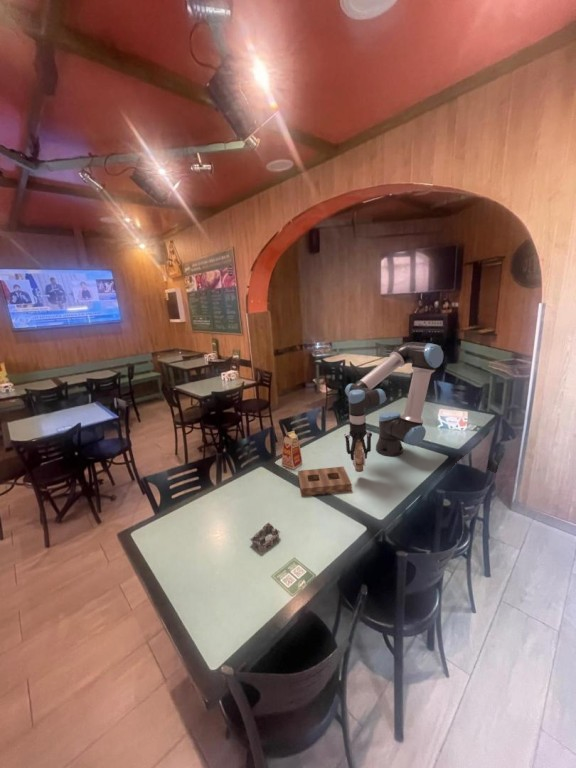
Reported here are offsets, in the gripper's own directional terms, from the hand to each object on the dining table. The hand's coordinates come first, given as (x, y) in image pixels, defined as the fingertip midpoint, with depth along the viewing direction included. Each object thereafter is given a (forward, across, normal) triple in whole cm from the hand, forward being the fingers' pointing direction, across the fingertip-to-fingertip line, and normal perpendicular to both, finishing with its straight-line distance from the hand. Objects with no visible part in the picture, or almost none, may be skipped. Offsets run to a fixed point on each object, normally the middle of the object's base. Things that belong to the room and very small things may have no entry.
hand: (359, 464), depth 156 cm
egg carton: (+6, +47, +37) cm, 60 cm away
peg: (+3, 0, 0) cm, 3 cm away
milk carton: (+7, +33, -21) cm, 39 cm away
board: (+7, +19, +2) cm, 20 cm away
